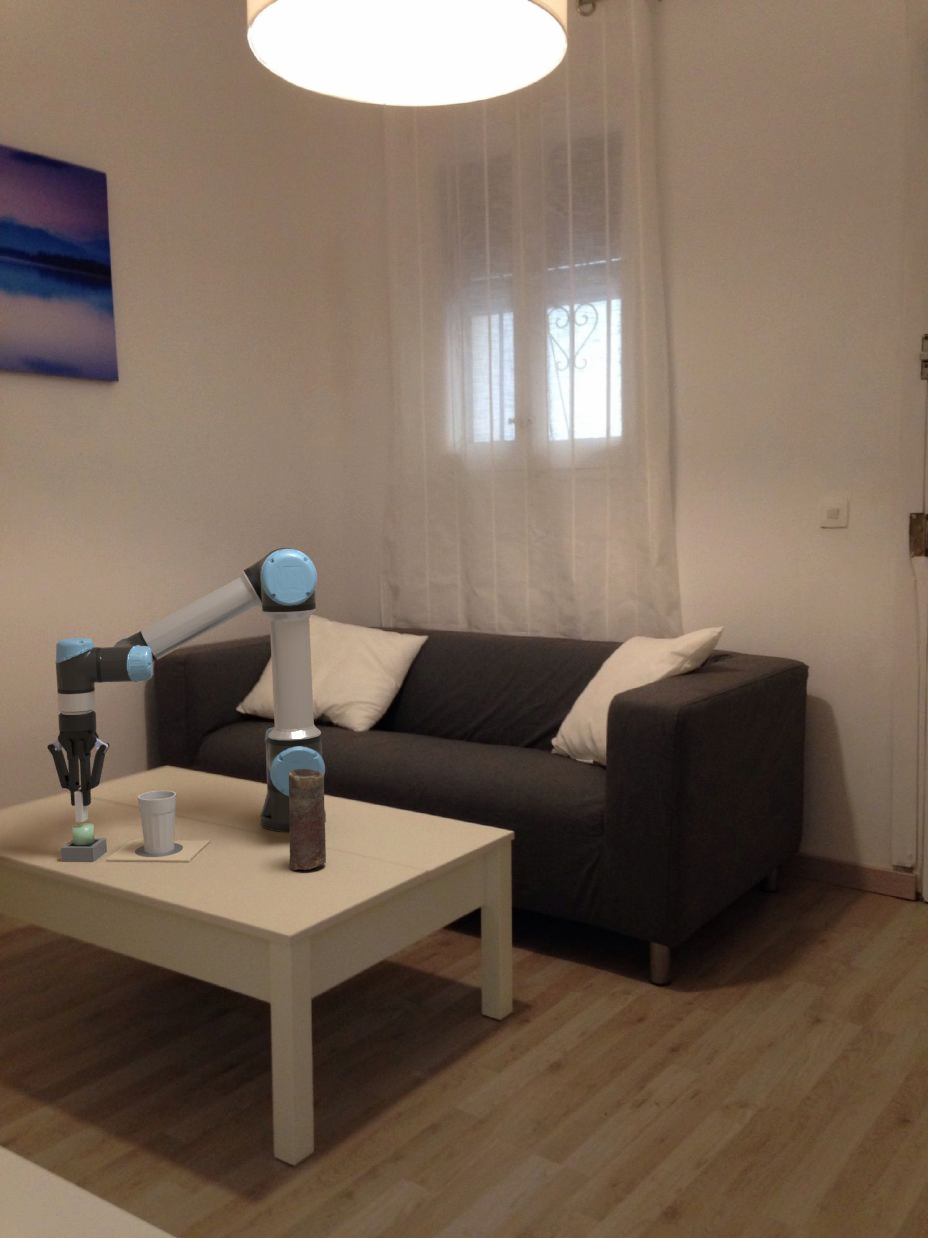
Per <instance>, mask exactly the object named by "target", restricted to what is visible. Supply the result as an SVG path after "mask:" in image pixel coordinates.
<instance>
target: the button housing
mask: <svg viewBox="0 0 928 1238" xmlns="http://www.w3.org/2000/svg"><path fill="white" fill-rule="evenodd" d="M94 839H95V841H94V842H93V843H91V844H87V845H75V844H73V839H71V840H70V841H69V842H67V843H65V844H63V846H61V847H60V857H61V858H60V859H61V862H65V863H66V862H70V863H71V862H73V863H74V862H76V863H94V862H95V861H97V860H98V859H99V858H101V857H102V856H103V855H105V854H106V853H107V852H108V847H107V846H108V844H107V843H108V842H107V838H106V837H94Z"/></svg>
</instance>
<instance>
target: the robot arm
mask: <svg viewBox="0 0 928 1238" xmlns="http://www.w3.org/2000/svg"><path fill="white" fill-rule="evenodd" d="M317 584H318V573H317V569H316V567H315V565H314V562H313V561H312V559H311V558H310V557H309V556H308V555H306V554H305V553H304V552H302V551H300V550H297V549H294V548H290V547H280V548H276V549H274V550H271V551H270V552H268V553H267V554H266V555H264V556H263V557H262V558H260V559H259V560H258V561H256V562H255V563H253V564H252V565H250V566H248V567H247V568H245V569H244V570H243V569H242V570H241V573H240V576H239V577H238V578H236V579H234V580H232V581H230V582H228V583H227V584H225V585H223V586H221V587H219V588H218V589H215V590H214V591H211V592H210V593H208V594H206V595H204V596H202V597H201V598H199V599H197V600H195V601H193V602H192V603H189V604H187V605H185V606H184V607H182V608H179V610H177V611H174V612H173V613H171V614H170V615H168V616H165V617H163V618H161V619H159V620H158V621H156V622H154V623H153V624H151V625H149V626H147V627H145V628H143V629H140V631H138V632H136V633H134V634H132V635H130V636H128V637H125V638H122V639H120V640H119V641H117V642H116V643H114V645H113V646H108V647H105V646H103V647H98V646H95V645H94V642H93V639H91V638H89V637H70V638H64V639H61V640H60V639H59V640H58V641H57V643H56V644H55V672H56V673H55V674H56V688H57V711H58V712H60V713H59V714H58V730H59V733H58V736H57V740H55V741H54V742H52V743H50V744H48V745H47V750H48V751H49V752H50V755H52V759H53V761H54V765H55V770H56V773H57V777H58V781H59V783H60V787H61V789H67V790H69V793H70V804H71V806H72V807H74V813H75V814H74V815H75V823H85V821H86V820H88V817H89V816H88V813H89V812H88V806H89V805H91V803H92V795H91V794H92V793H91V790H92V789H95V788H96V787H98V786H99V785H100V783H101V777H102V773H103V768H104V767H103V766H104V761H105V757H106V753H107V751H108V750H109V748H110V743H109V742H103V741H102V740H101V739H100V737H99V734H98V733H97V713H96V712H95V710H94V709H96V692H95V691H96V688H95V684H96V683H100V684H101V683H122V682H123V683H124V682H127V683H128V682H132V683H133V682H134V683H137V682H142V681H150V680H151V679H152V678H153V669H154V668H153V666H154V665H153V663H154V662H156V661H158V660H159V659H161V658H163V657H165V656H166V655H169V654H170V653H172V652H174V651H177V649H179V648H182V647H183V646H186V645H187V644H189V643H191V642H193V641H195V640H196V639H198V638H201V637H202V636H204V635H206V634H207V633H209V632H211V631H213V630H215V629H217V628H218V627H221V626H223V625H225V624H226V623H228V622H230V621H232V620H233V619H235V618H238V617H239V616H240V615H243V614H245V613H247V612H249V611H250V610H252V609H254V608H256V607H258V608H259V607H260V608H261V609H262V611H261V612H262V614H264V615H265V616H266V617H267V618H268V619H269V632H270V651H271V653H270V654H271V675H272V678H271V679H272V695H273V698H272V700H273V715H274V717H273V718H274V727H270V728H268V729H266V731H265V738H264V743H265V759H266V760H265V761H266V763H265V764H266V786H267V787H266V789H267V790H266V791H267V792H266V796H265V797H264V798H265V799H264V802H263V806H262V809H261V813H260V826H261V827H262V828H264V829H266V830H268V831H269V830H270V831H276V832H290V819H289V772H290V771H292V770H293V769H311V770H314V771H319V772H322V773H323V774H324V775H325V774H326V765H325V761H324V759H323V750H322V749H323V746H322V731H321V730H320V729H319V728H317V726H316V725H315V722H314V720H315V719H314V701H313V700H314V699H313V698H314V694H313V676H312V650H311V649H312V647H311V628H310V627H311V625H310V618H311V616H312V615H313V614H314V613H315V612H316V609H317V605H316V587H317ZM94 747H95V751H96V752H95V755H94V759H93V764H92V770H91V756H92V753H91V752H92V750H93V749H94ZM63 750H64V751H65V753H66V759H67V763H66V759H65V755H64V751H63ZM67 764H68V765H67ZM324 810H325V808H324ZM325 811H326V810H325ZM326 815H327V814H326V812H325V823H326V820H327V819H326V818H327V816H326Z"/></svg>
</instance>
